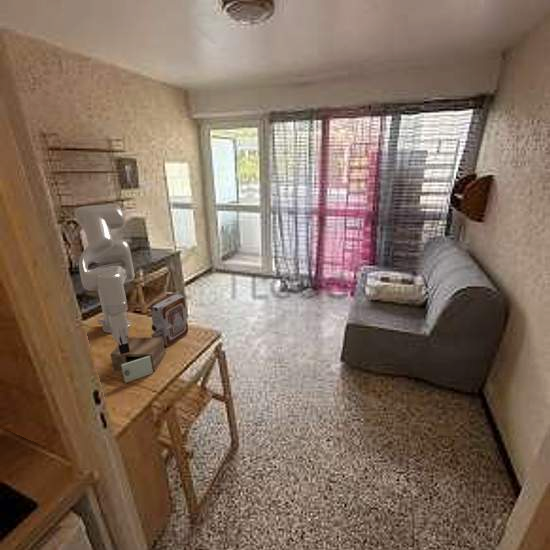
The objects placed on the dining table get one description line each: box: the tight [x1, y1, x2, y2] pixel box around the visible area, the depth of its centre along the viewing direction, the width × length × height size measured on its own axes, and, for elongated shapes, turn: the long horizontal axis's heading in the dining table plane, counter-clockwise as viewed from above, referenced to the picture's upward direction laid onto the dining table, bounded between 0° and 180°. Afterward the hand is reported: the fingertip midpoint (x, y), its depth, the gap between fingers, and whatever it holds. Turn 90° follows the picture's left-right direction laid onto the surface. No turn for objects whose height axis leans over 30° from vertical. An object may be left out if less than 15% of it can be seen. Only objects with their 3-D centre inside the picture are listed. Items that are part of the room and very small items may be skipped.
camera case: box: [110, 336, 166, 373], centre depth 131 cm, size 16×12×8 cm
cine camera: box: [149, 293, 189, 347], centre depth 144 cm, size 9×19×20 cm, turn 152°
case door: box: [121, 356, 154, 383], centre depth 122 cm, size 10×2×8 cm, turn 123°
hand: (124, 352), depth 121 cm, fingers closed
